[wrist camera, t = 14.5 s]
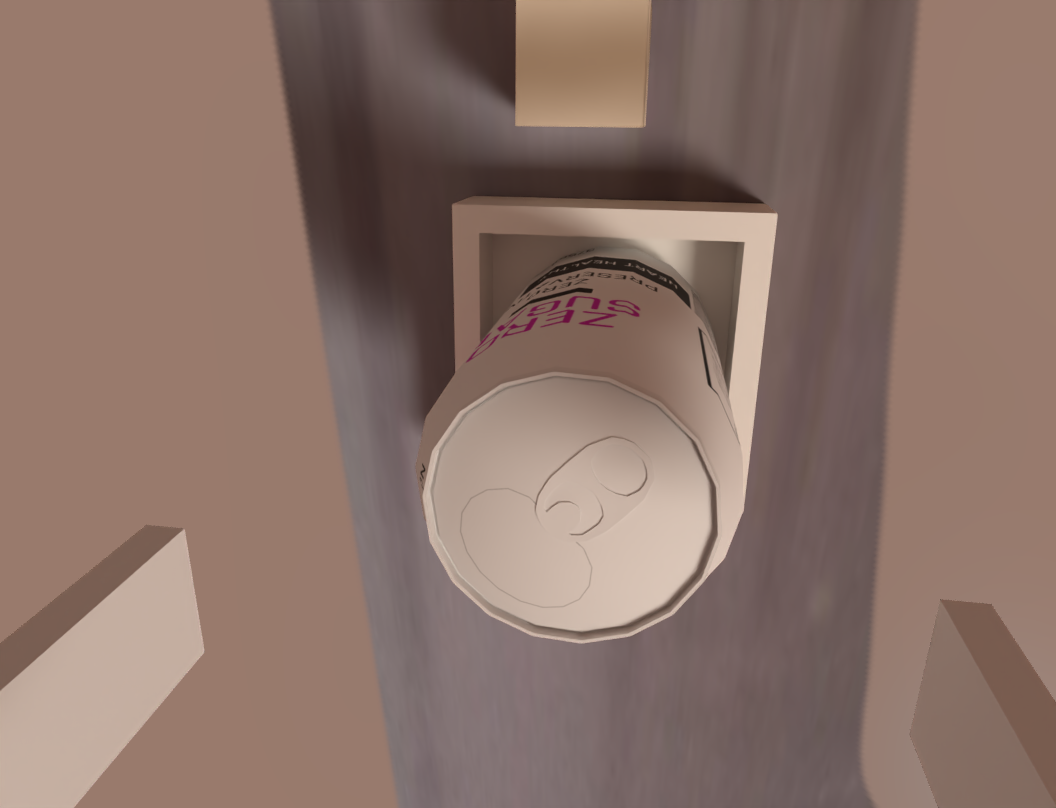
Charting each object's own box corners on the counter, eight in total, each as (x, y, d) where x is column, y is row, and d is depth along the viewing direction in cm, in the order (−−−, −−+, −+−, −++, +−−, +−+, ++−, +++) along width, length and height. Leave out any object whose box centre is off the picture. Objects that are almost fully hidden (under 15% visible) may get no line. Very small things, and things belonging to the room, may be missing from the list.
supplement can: (608, 475, 34) (571, 718, 20) (470, 341, 33) (331, 501, 19) (755, 349, 31) (829, 531, 18) (609, 199, 30) (565, 265, 16)
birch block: (543, 11, 30) (516, -14, 24) (651, 10, 29) (649, -17, 23) (541, 125, 31) (515, 126, 25) (645, 126, 30) (641, 127, 25)
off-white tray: (473, 195, 32) (451, 204, 29) (765, 203, 31) (777, 213, 27) (476, 456, 36) (457, 489, 33) (735, 475, 34) (742, 512, 31)
